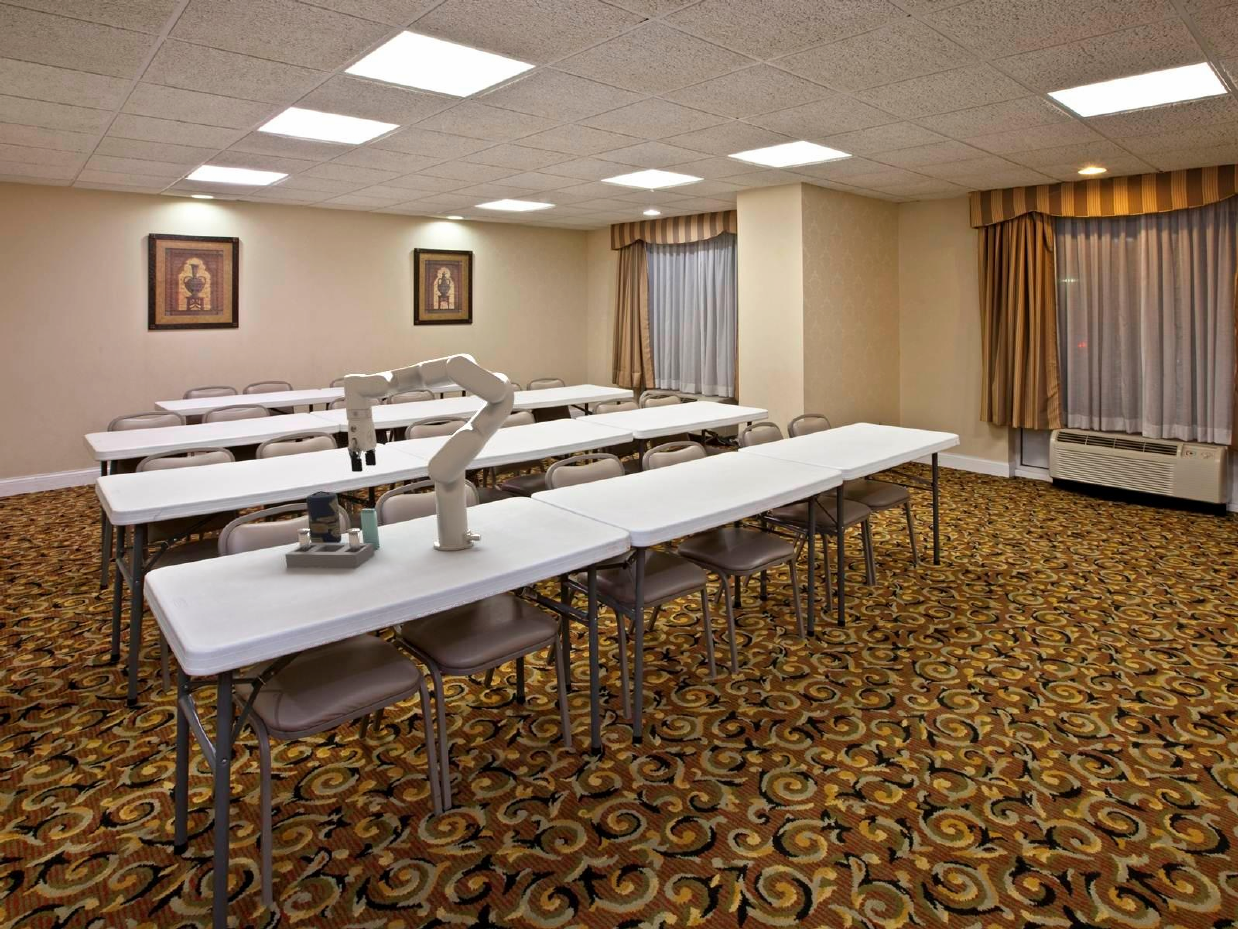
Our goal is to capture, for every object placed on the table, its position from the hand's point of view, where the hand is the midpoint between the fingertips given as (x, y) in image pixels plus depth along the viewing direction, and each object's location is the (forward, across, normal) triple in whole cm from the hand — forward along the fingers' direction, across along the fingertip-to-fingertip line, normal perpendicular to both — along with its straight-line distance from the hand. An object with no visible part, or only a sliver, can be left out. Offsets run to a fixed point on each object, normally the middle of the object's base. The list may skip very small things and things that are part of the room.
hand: (364, 468), depth 234 cm
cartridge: (+26, 0, 0) cm, 26 cm away
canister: (+26, +4, +17) cm, 32 cm away
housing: (+26, -13, +7) cm, 30 cm away
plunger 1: (+25, -13, +15) cm, 32 cm away
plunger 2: (+25, -13, -1) cm, 28 cm away
